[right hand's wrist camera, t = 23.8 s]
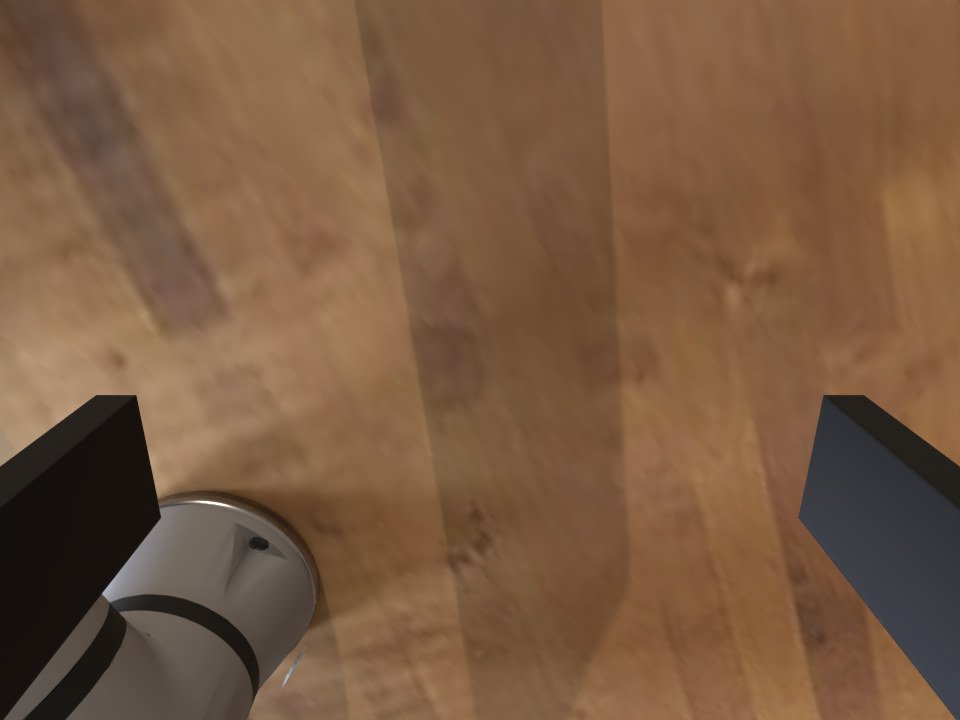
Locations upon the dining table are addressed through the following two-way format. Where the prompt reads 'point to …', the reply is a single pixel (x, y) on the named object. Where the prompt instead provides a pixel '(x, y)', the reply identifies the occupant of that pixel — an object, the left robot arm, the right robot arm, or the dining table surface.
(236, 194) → the dining table surface
